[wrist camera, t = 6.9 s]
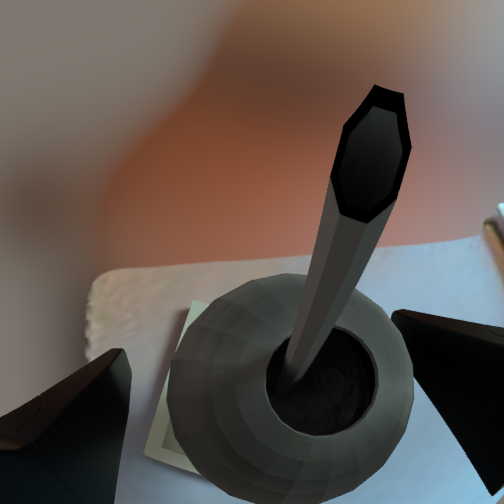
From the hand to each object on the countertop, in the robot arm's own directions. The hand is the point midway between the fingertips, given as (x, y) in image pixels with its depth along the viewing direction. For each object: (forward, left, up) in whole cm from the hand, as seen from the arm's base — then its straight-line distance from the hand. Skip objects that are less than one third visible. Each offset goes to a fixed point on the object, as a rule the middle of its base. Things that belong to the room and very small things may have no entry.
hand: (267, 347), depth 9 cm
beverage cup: (-1, -1, -12) cm, 12 cm away
